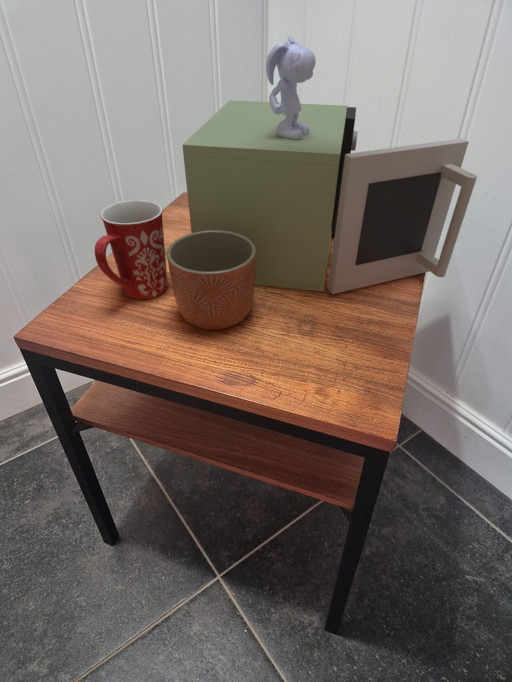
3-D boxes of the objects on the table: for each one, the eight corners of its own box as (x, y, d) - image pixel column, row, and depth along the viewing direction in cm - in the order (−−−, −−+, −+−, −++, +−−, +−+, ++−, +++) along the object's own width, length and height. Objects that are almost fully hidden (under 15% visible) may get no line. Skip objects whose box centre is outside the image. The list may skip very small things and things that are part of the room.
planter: (208, 282, 74) (203, 222, 67) (270, 305, 69) (272, 243, 62) (159, 320, 66) (147, 256, 59) (225, 349, 61) (221, 283, 54)
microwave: (344, 220, 93) (360, 106, 79) (338, 293, 72) (358, 155, 58) (233, 211, 97) (229, 100, 82) (196, 278, 76) (182, 144, 61)
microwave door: (452, 288, 73) (499, 153, 59) (350, 314, 67) (375, 171, 53) (424, 267, 78) (461, 138, 64) (327, 289, 73) (344, 153, 59)
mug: (143, 268, 78) (129, 194, 69) (184, 282, 75) (174, 206, 66) (90, 303, 70) (66, 224, 61) (133, 321, 66) (114, 240, 58)
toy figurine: (302, 143, 62) (308, 40, 54) (261, 137, 64) (261, 38, 56) (318, 130, 67) (326, 35, 59) (279, 126, 69) (282, 33, 61)
